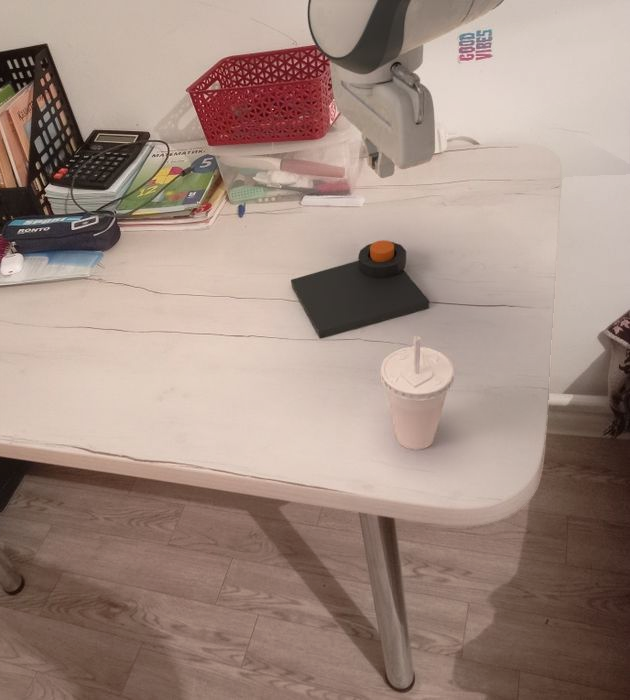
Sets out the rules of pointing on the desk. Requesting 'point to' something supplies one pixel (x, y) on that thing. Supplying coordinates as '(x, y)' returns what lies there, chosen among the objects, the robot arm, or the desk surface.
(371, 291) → the scale
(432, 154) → the robot arm
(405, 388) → the smoothie
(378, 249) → the button
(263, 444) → the desk surface
